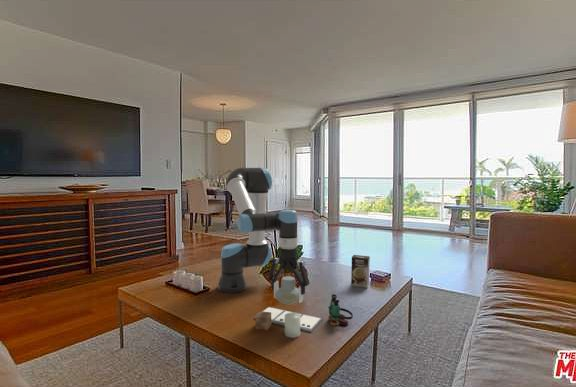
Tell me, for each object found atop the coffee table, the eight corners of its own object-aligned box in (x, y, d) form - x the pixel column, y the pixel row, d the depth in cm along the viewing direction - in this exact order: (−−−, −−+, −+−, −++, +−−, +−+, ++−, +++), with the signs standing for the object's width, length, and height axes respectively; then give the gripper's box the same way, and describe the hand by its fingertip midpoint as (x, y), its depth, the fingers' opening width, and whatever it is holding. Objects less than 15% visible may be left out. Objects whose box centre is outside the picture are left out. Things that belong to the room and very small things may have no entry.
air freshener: (300, 297, 139) (300, 275, 138) (302, 305, 130) (302, 281, 130) (275, 298, 138) (275, 275, 138) (275, 306, 130) (275, 281, 130)
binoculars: (356, 302, 128) (332, 300, 128) (353, 328, 129) (329, 326, 128) (350, 294, 137) (327, 292, 137) (347, 318, 138) (324, 316, 137)
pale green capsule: (281, 335, 122) (281, 317, 121) (289, 328, 127) (289, 311, 127) (296, 339, 119) (296, 320, 119) (302, 332, 124) (303, 314, 124)
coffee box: (350, 286, 176) (351, 257, 175) (353, 282, 182) (353, 254, 181) (367, 288, 173) (368, 258, 172) (369, 284, 179) (369, 255, 178)
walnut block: (255, 328, 127) (255, 316, 127) (259, 323, 132) (259, 311, 132) (267, 330, 126) (267, 317, 126) (271, 324, 131) (271, 312, 131)
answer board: (254, 318, 136) (254, 316, 136) (268, 308, 146) (268, 305, 146) (311, 332, 124) (311, 329, 124) (322, 320, 134) (322, 317, 134)
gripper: (259, 246, 135) (259, 297, 136) (310, 252, 125) (310, 307, 126) (268, 243, 142) (268, 292, 143) (317, 248, 131) (317, 301, 132)
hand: (288, 299), depth 134 cm, fingers closed on air freshener, 11 cm apart
